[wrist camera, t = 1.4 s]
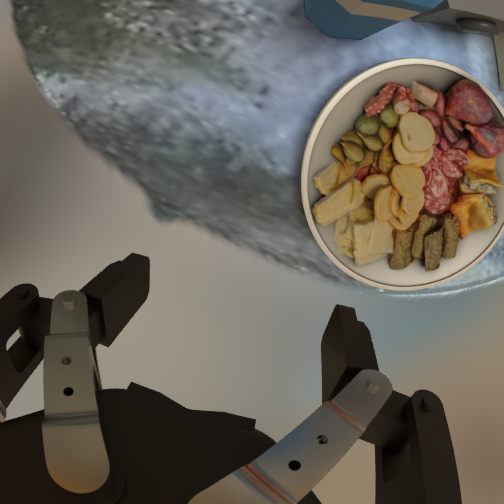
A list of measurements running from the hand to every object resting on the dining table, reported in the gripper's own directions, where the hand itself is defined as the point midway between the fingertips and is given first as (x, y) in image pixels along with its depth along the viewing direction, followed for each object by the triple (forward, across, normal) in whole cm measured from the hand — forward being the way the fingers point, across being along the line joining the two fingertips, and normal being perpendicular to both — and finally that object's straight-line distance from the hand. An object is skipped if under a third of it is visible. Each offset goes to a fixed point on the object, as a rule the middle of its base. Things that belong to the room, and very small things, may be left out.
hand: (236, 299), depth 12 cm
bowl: (+27, -17, -6) cm, 32 cm away
